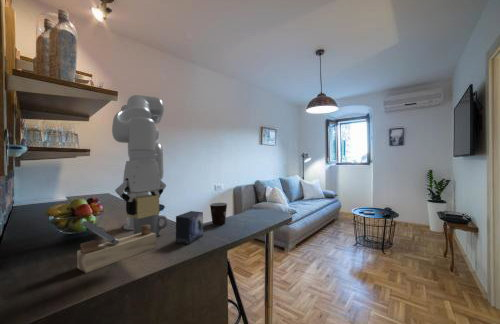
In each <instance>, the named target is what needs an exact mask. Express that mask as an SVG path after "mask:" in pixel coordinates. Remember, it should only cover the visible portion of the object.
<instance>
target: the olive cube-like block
mask: <svg viewBox="0 0 500 324" xmlns="http://www.w3.org/2000/svg"><path fill="white" fill-rule="evenodd" d="M133 202H135V214H134V215H128V214H127V213H126V217H131V218H136V219H139V218H144V217H148V216H152V215H157V214H159V215H160V198H159V195H151V194H148V195H141V196H135V197H134V199H133Z"/></svg>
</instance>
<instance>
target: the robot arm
mask: <svg viewBox="0 0 500 324" xmlns="http://www.w3.org/2000/svg"><path fill="white" fill-rule="evenodd" d="M164 112H165V106H164V102H163V101H162V99H161V98H160V97H156V96H149V95H141V94H135V95H134V94H133V95H131V96H130V97H128V99H127V103H126V104H124V105H122V106H121V107H120V111H118V112H116V114H115V115H114V116H113V120H112V128H111V133H112V138H113V139H114V140H115V141H116V142H118V143H123V144H124V143H125V144H127V156H128V158H129V159H128V160H126V161H125V167H124V171H123V179H122V181H123V182H122V183H121V184H120V185H119V186H117V187H116V188H115V193H116V194H117V195H118V196H119V197H120V198H121V199H122V200H123V201H124V202H125V211H126V215H127V214H128V215H134V214H135V202H133V199H134V197H135V196H141V195H148V194H149V193H150V194H149V195H159V199H160V198H161V196H162V194H163V192H164V190H165V189H166V187H167V184H166V183H164V181H162V180H163V178H164V152H163V151H164V150H163V146H162V145H161V143H159V142H157V140H158V139H159V134H160V133H159V132H160V131H159V128H158V127H157V124H160V123H161V120H162V118H163V117H164V116H163V115H164ZM126 217H127V216H126ZM125 221H126V222H127V223H126V224H125V225H123V230H127V231H134V225H133V218H131V217H127V218H125Z"/></svg>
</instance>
